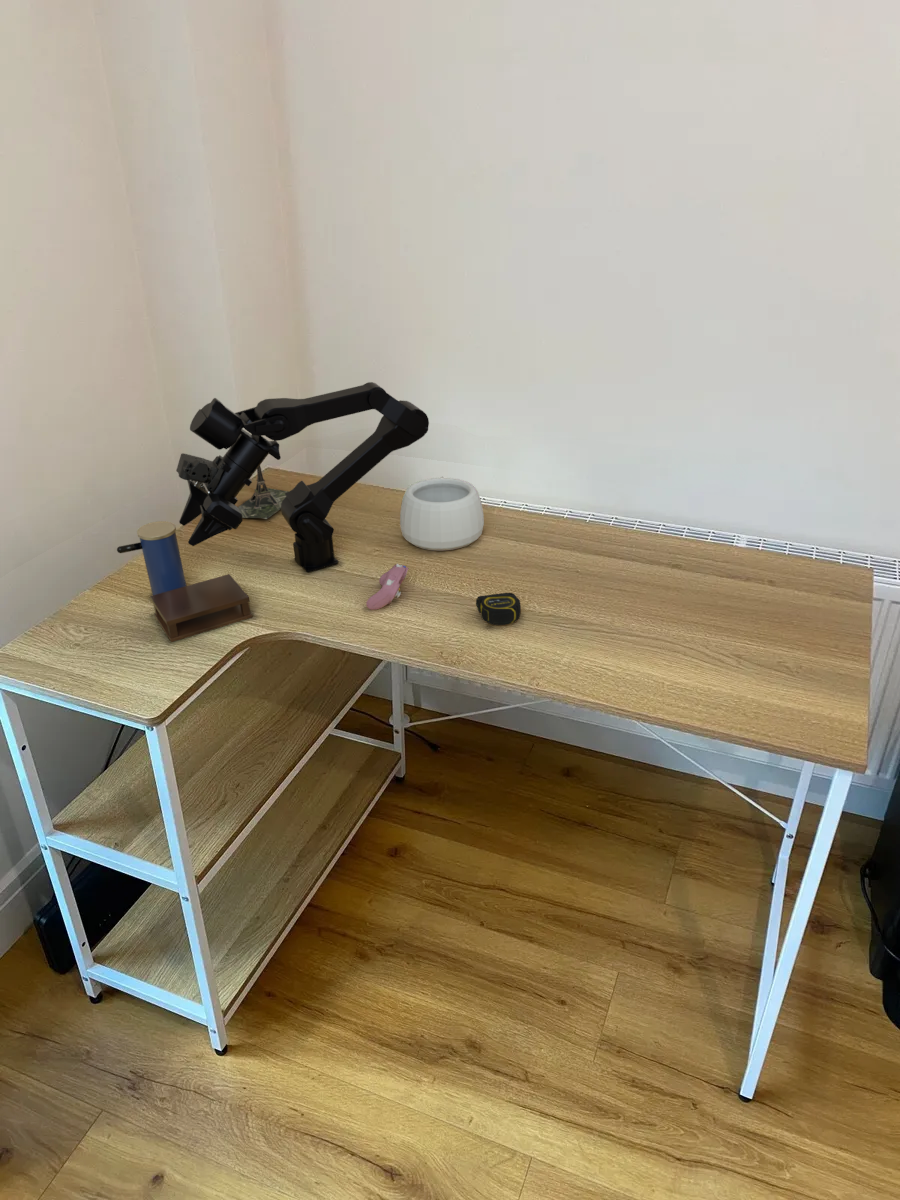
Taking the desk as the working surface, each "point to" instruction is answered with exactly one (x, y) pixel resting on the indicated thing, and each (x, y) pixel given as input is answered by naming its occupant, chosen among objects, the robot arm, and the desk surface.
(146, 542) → the blue cylinder
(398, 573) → the video game controller
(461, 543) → the white round bowl
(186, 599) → the rack
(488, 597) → the tape measure
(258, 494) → the eiffel tower figurine
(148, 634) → the desk surface
